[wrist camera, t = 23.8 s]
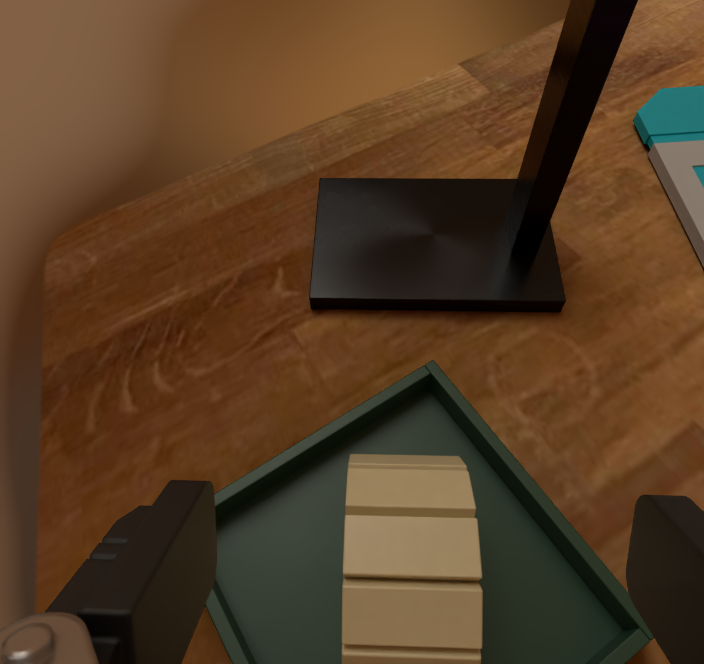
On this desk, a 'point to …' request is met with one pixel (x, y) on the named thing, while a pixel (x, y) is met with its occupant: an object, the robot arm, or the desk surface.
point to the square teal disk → (678, 152)
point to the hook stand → (470, 206)
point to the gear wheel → (410, 562)
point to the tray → (328, 543)
